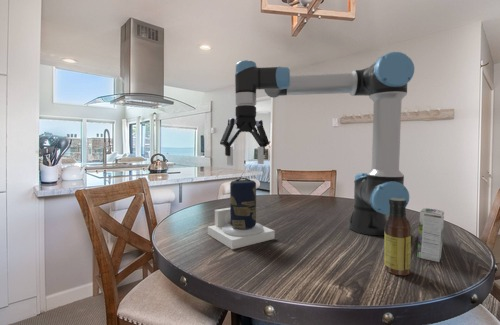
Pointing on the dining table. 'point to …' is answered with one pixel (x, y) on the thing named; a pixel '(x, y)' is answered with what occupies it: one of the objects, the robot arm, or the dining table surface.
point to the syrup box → (430, 234)
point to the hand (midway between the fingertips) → (245, 164)
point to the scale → (237, 231)
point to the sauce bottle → (397, 239)
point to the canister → (243, 203)
